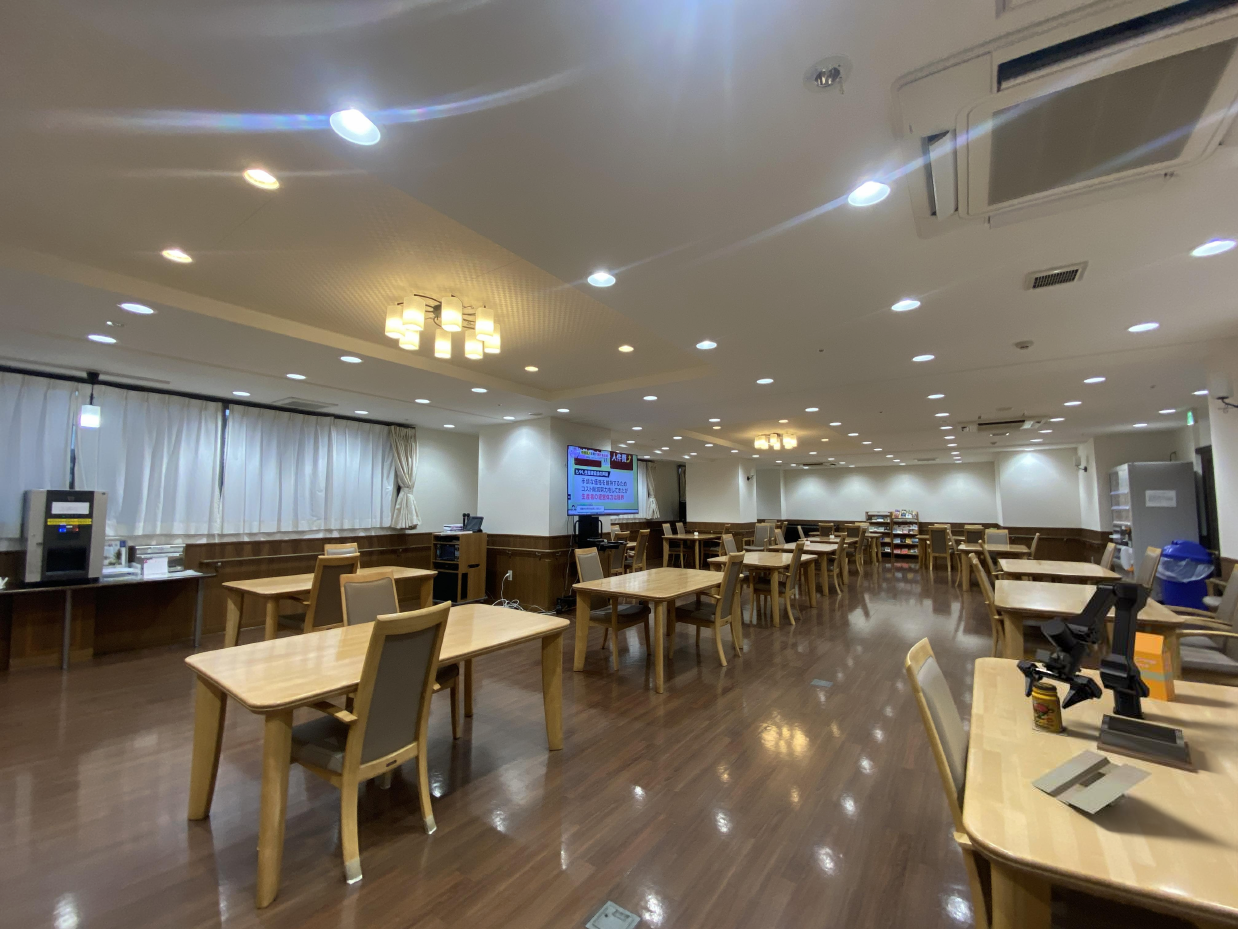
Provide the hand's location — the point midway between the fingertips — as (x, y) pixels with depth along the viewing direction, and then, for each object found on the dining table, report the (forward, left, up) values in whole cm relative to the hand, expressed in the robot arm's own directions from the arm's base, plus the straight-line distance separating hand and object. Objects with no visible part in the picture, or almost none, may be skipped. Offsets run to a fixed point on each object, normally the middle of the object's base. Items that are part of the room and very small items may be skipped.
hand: (1044, 702), depth 138 cm
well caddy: (-3, +18, -7) cm, 20 cm away
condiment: (-1, 0, -7) cm, 7 cm away
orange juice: (-59, +20, -7) cm, 63 cm away
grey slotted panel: (+41, +11, -7) cm, 43 cm away
